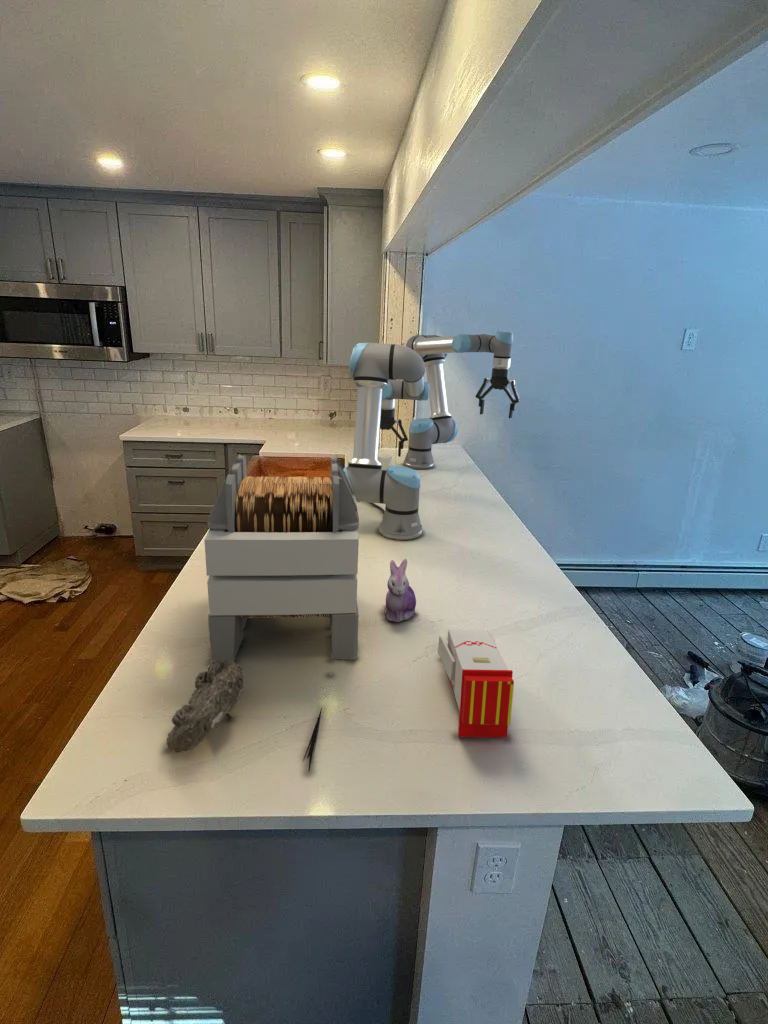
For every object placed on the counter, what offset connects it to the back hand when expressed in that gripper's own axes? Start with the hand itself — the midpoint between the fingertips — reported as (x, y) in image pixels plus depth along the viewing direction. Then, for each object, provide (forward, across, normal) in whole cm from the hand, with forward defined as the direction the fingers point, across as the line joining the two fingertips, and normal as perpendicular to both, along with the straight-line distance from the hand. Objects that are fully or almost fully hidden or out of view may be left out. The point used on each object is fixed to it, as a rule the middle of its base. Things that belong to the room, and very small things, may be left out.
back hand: (495, 416), depth 258 cm
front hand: (+18, -39, -34) cm, 54 cm away
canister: (+31, -38, -34) cm, 60 cm away
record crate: (+31, -1, -153) cm, 156 cm away
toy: (+31, +47, -154) cm, 164 cm away
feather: (+31, +25, -178) cm, 182 cm away
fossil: (+31, +7, -188) cm, 190 cm away
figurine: (+31, +20, -134) cm, 139 cm away
